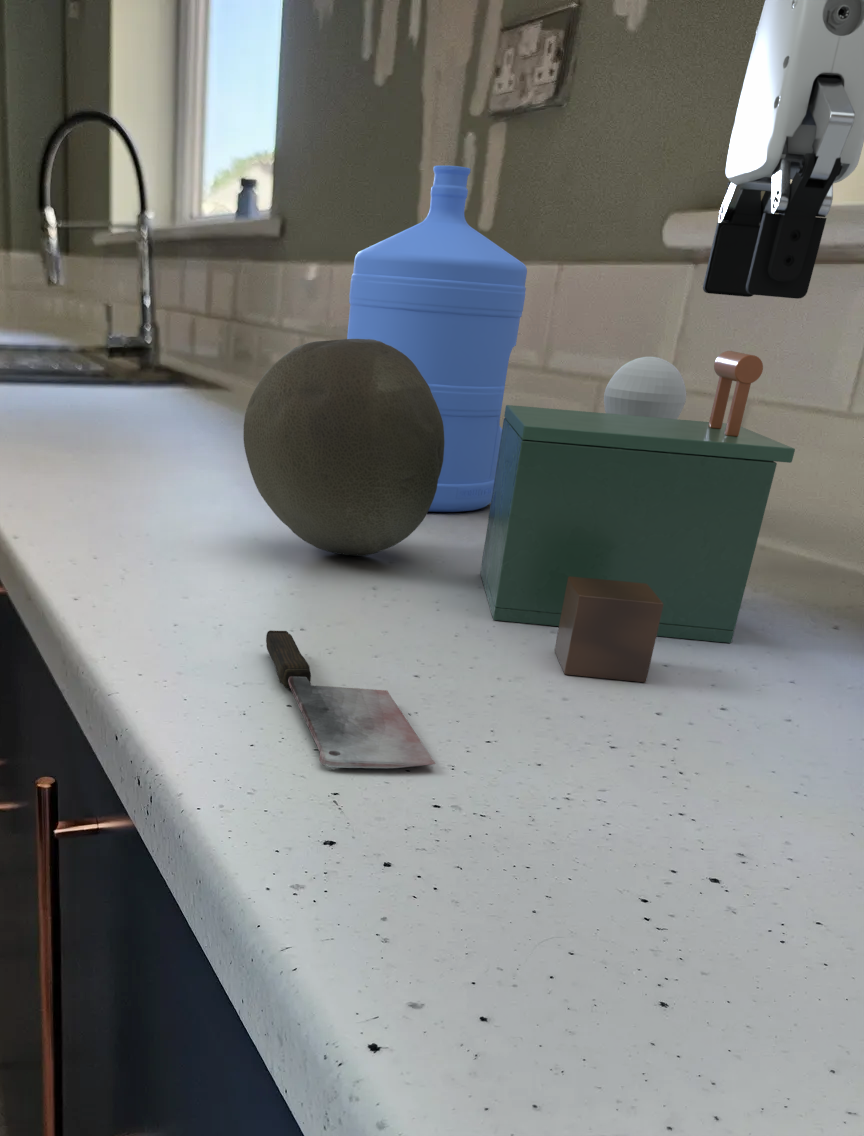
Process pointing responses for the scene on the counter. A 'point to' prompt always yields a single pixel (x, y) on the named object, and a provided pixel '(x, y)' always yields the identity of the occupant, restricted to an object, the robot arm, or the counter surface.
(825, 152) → the robot arm
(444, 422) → the water jug
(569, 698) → the counter surface
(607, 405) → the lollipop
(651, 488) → the green box
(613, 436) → the lid
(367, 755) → the cleaver
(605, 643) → the tea block
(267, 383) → the cantaloupe
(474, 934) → the counter surface
